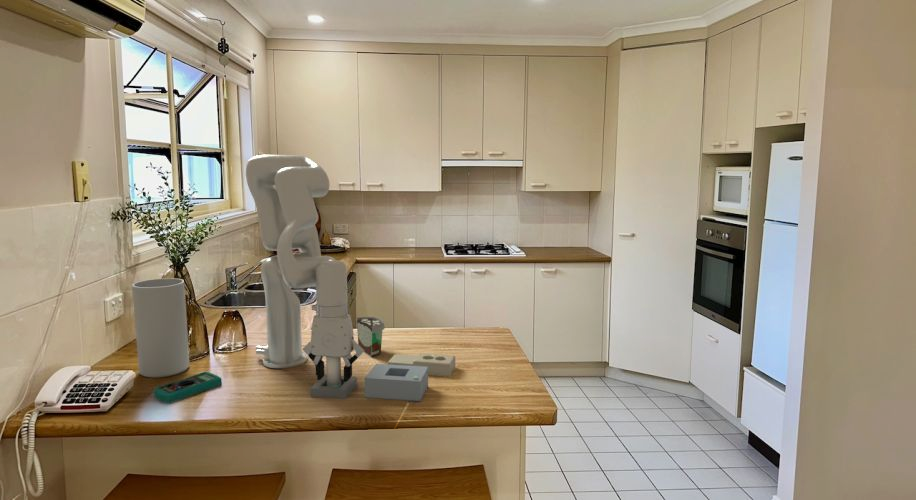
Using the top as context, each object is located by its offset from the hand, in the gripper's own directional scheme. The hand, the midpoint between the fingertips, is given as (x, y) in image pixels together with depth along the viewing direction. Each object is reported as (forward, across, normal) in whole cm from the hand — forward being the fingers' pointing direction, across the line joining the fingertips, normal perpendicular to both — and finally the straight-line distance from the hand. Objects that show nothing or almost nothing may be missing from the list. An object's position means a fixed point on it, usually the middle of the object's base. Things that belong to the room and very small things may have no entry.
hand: (334, 378), depth 140 cm
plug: (+3, 0, 0) cm, 3 cm away
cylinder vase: (+4, -52, +7) cm, 53 cm away
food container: (+4, +1, +32) cm, 32 cm away
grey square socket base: (+4, 0, 0) cm, 4 cm away
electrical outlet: (+4, +19, +19) cm, 27 cm away
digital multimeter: (+4, -37, -5) cm, 37 cm away
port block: (+4, +16, +2) cm, 17 cm away
